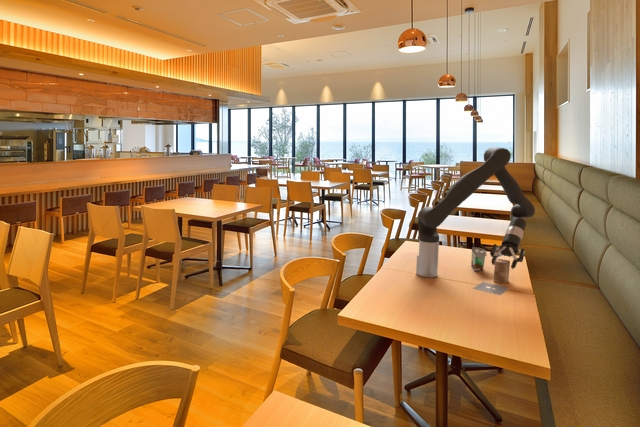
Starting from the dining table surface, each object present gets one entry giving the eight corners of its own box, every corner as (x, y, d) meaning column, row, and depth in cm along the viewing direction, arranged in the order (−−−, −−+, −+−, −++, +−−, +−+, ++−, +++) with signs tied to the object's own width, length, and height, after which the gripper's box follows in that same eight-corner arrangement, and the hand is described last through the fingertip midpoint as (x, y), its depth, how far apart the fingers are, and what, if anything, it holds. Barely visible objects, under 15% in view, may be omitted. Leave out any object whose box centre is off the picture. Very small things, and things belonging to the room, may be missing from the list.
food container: (487, 273, 202) (489, 253, 200) (474, 272, 203) (475, 253, 202) (483, 266, 214) (484, 247, 212) (470, 265, 215) (471, 247, 214)
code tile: (472, 288, 181) (472, 288, 181) (482, 281, 190) (482, 281, 190) (500, 295, 173) (500, 295, 173) (510, 288, 182) (510, 287, 182)
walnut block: (493, 281, 190) (495, 261, 188) (497, 279, 194) (498, 258, 192) (504, 284, 187) (506, 263, 185) (508, 281, 190) (510, 260, 189)
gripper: (496, 231, 198) (485, 258, 191) (527, 235, 188) (517, 264, 182) (499, 239, 202) (488, 267, 196) (530, 244, 193) (520, 273, 187)
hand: (502, 266), depth 189 cm, fingers open, 8 cm apart
